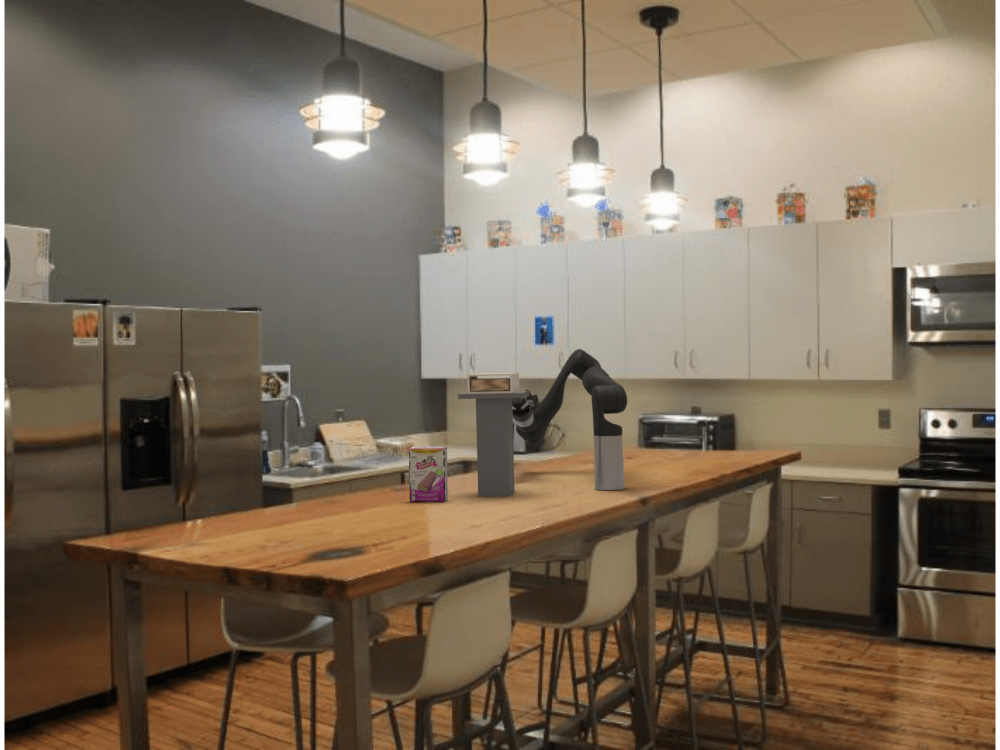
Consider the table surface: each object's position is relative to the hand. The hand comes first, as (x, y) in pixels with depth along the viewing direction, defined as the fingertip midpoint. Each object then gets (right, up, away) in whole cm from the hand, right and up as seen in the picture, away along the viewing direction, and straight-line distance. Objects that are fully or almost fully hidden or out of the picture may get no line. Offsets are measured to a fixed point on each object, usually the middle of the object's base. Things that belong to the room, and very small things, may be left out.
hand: (513, 392), depth 333 cm
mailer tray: (-5, +1, -20) cm, 21 cm away
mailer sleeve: (-7, 0, -25) cm, 26 cm away
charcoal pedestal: (-6, -32, -25) cm, 41 cm away
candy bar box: (-26, -33, -35) cm, 54 cm away
